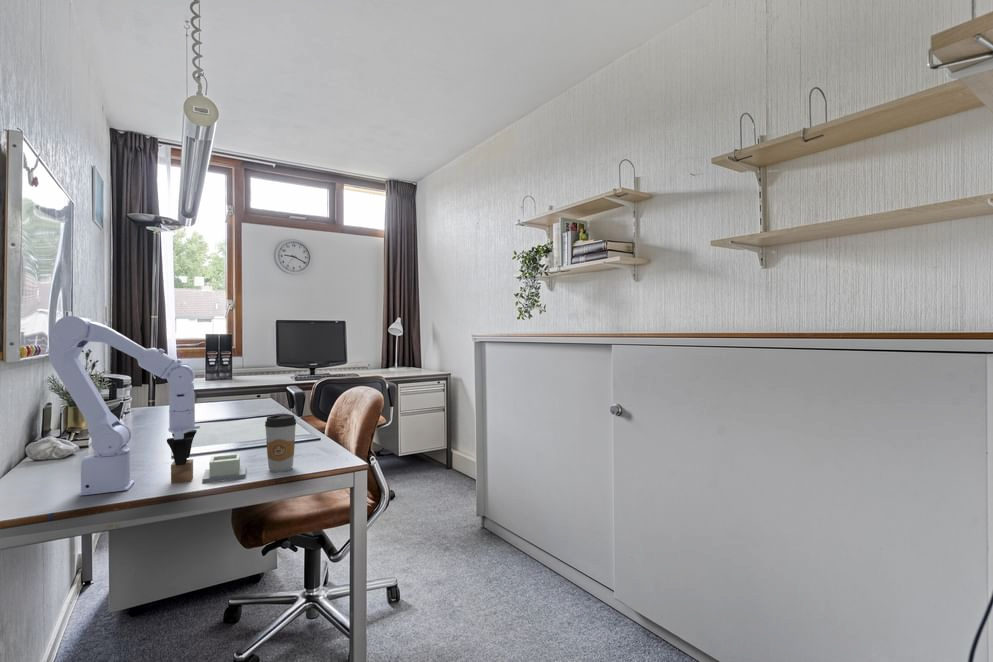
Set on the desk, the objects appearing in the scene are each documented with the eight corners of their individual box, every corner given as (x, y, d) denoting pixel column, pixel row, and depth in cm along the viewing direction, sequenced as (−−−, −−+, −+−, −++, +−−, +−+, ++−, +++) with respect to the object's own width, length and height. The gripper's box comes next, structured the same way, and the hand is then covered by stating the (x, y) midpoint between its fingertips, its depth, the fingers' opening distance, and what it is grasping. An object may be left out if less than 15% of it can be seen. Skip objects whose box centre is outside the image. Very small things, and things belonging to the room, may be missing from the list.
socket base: (202, 483, 129) (202, 464, 129) (205, 473, 138) (205, 456, 138) (245, 477, 133) (245, 460, 133) (245, 468, 142) (245, 452, 142)
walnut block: (170, 484, 128) (170, 465, 128) (173, 479, 132) (173, 461, 132) (191, 482, 130) (191, 463, 130) (193, 477, 134) (193, 459, 134)
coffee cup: (262, 474, 137) (262, 420, 137) (267, 466, 145) (267, 415, 145) (294, 471, 139) (294, 418, 139) (298, 464, 147) (298, 413, 147)
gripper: (196, 413, 126) (197, 466, 126) (202, 405, 139) (202, 453, 139) (163, 415, 123) (164, 469, 123) (172, 407, 136) (173, 456, 136)
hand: (182, 461), depth 131 cm, fingers open, 7 cm apart
